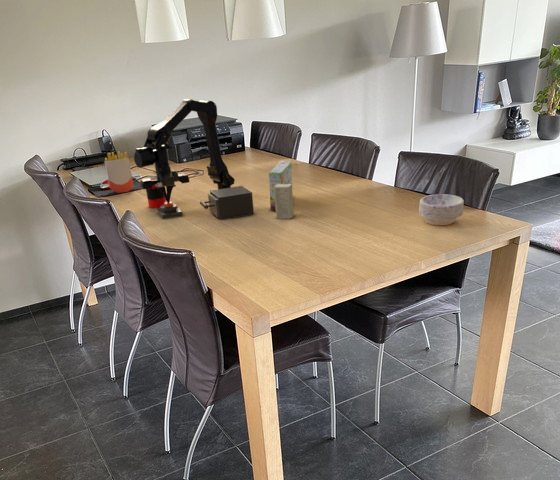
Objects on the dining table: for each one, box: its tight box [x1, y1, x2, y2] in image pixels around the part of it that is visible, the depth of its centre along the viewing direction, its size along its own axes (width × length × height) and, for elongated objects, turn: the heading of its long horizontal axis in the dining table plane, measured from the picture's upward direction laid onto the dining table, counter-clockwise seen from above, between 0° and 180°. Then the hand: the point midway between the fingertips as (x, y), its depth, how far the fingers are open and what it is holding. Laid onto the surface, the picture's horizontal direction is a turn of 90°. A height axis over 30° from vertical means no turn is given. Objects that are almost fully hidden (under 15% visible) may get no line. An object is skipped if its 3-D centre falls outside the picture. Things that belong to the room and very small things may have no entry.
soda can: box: [145, 175, 167, 209], centre depth 244 cm, size 8×8×12 cm
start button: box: [164, 201, 174, 207], centre depth 233 cm, size 4×4×2 cm
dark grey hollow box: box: [209, 185, 255, 221], centre depth 229 cm, size 14×13×9 cm
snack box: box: [268, 160, 293, 212], centre depth 234 cm, size 21×6×15 cm, turn 168°
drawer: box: [199, 192, 220, 219], centre depth 228 cm, size 17×11×7 cm
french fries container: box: [104, 151, 134, 194], centre depth 268 cm, size 5×11×18 cm, turn 114°
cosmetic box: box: [274, 183, 295, 220], centre depth 219 cm, size 6×4×12 cm
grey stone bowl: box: [418, 193, 465, 226], centre depth 204 cm, size 15×15×8 cm
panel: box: [157, 203, 183, 220], centre depth 234 cm, size 10×8×4 cm
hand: (168, 202), depth 232 cm, fingers closed, pressing on start button
